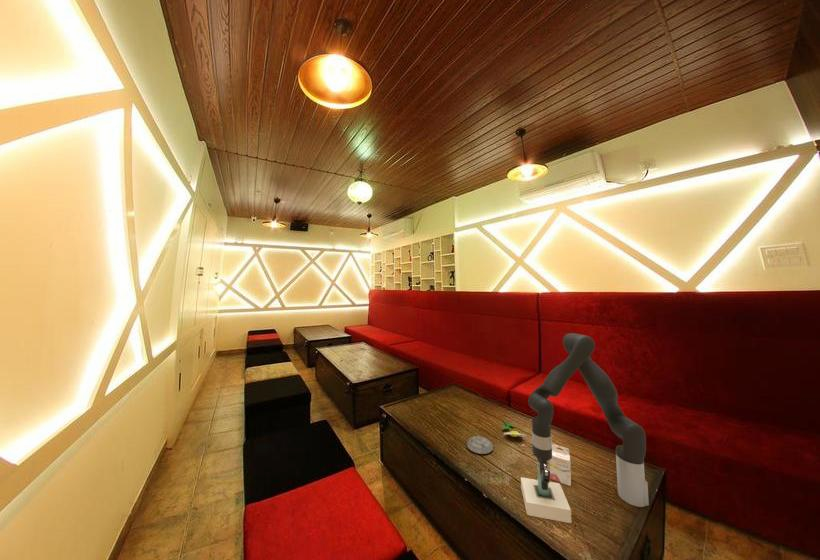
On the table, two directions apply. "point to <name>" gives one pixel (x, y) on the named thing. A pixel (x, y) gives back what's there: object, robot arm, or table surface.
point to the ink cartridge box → (560, 465)
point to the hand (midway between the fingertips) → (543, 484)
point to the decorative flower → (512, 433)
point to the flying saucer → (479, 445)
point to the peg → (540, 491)
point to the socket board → (545, 501)
